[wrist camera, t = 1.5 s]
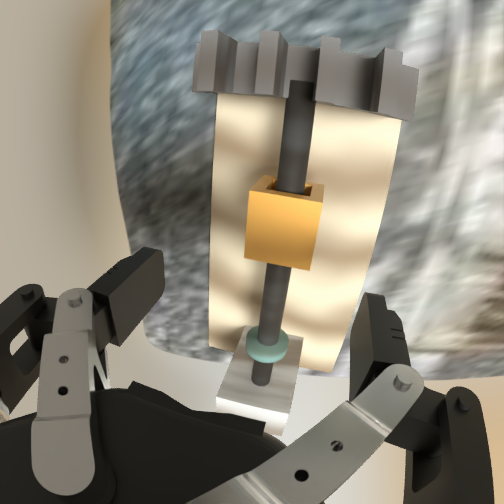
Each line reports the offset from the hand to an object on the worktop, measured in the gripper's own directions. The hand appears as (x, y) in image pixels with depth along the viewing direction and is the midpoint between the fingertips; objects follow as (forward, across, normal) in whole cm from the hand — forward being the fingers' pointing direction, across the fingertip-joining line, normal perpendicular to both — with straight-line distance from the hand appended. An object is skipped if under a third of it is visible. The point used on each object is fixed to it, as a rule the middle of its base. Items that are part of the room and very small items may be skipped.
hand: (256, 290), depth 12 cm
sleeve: (+9, 0, 0) cm, 9 cm away
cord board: (+15, 0, +4) cm, 16 cm away
